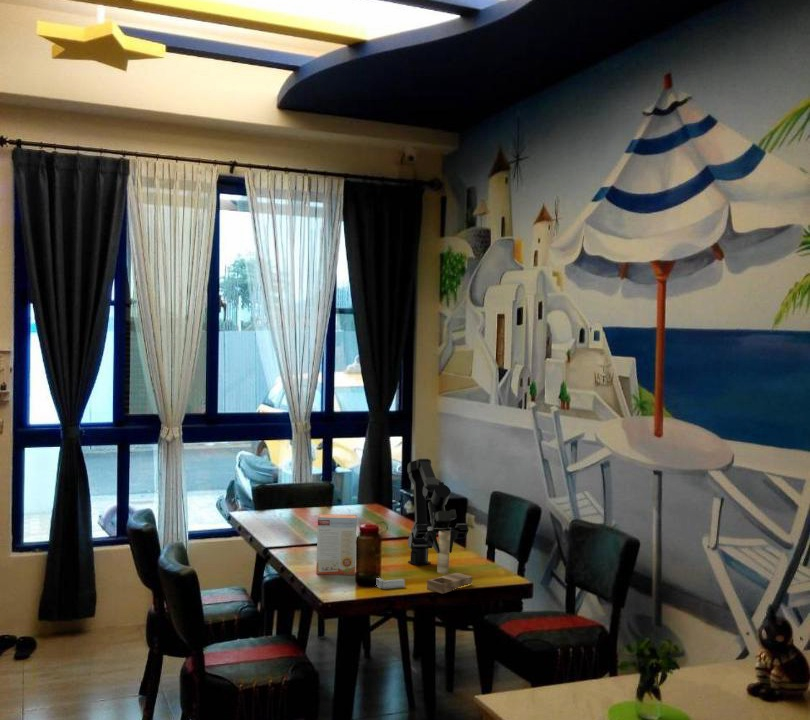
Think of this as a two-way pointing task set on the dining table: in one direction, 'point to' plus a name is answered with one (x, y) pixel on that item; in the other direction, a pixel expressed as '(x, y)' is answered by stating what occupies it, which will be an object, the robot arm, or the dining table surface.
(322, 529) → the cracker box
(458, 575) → the wooden socket block
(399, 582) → the v cradle
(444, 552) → the dowel
